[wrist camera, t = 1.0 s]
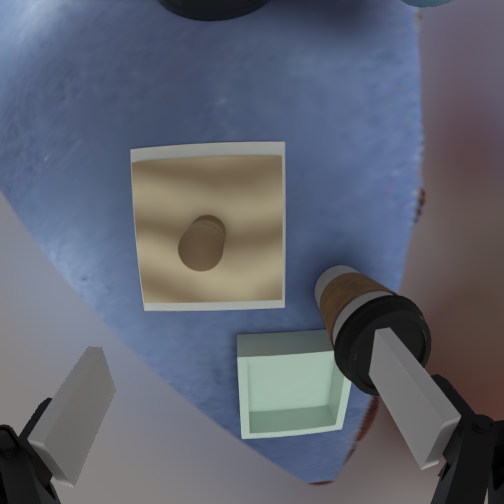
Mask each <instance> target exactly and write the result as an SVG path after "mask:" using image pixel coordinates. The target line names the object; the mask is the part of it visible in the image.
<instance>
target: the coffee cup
mask: <svg viewBox="0 0 504 504" xmlns="http://www.w3.org/2000/svg"><path fill="white" fill-rule="evenodd" d="M314 293H315V299H316V302H317V304H318V307H319V309H320V312H321V316H322V318H323V321H324V324H325V327H326V330H327V333H328V336H329V339H330V342H331V345H332V348H333V350H334V359H335V362H336V365H337V367H338V369H339V370H340V372H341V373H342V374H343V375H344V376H345V377H346V378H347V379H348V380H350V381H351V382H353V383H354V384H355V385H356V386H357V387H358V388H359V389H360V390H361V391H363V392H364V393H367V394H369V395H374V396H380V394H379V392H378V390H377V388H376V387H375V385H374V383H373V381H372V380H371V378H370V376H369V371H370V365H371V358H372V352H373V345H374V338H375V330H377V329H383V328H389V327H390V329H391V330H392V331H393V332H394V333H395V334H396V336H397V337H398V338H399V339H400V340H401V342H402V343H403V344H404V345H405V346H406V348H407V349H408V350H409V351H410V352H411V354H412V355H413V356H414V357H415V358H416V360H417V361H418V362H419V363H420V365H421V366H422V367H423V368H424V367H425V366H426V364H427V362H428V359H429V356H430V351H431V335H430V331H429V328H428V325H427V324H426V322H425V319H424V317H423V314H422V312H421V311H420V310H419V308H418V307H417V306H416V304H415V303H413V302H412V301H411V300H410V299H408V298H406V297H403V296H399V295H397V294H396V293H395V292H393V291H391V290H390V289H388V288H386V287H384V286H383V285H381V284H379V283H377V282H376V281H374V280H372V279H370V278H369V277H367V276H365V275H363V274H361V273H360V272H358V271H357V270H355V269H353V268H351V267H349V266H345V265H338V266H333V267H331V268H329V269H327V270H326V271H325V272H323V273H322V274H321V276H320V277H319V278H318V280H317V282H316V285H315V291H314Z"/></svg>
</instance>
